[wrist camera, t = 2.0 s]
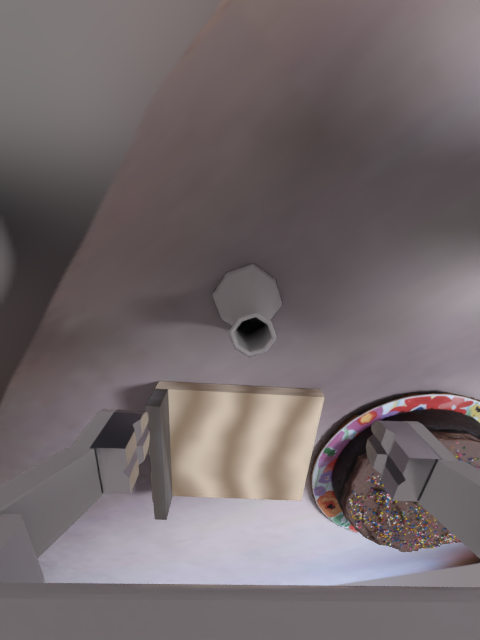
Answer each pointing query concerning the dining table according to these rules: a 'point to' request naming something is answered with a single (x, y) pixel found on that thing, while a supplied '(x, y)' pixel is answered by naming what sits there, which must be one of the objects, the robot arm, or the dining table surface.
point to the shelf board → (230, 441)
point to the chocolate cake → (364, 481)
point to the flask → (249, 308)
